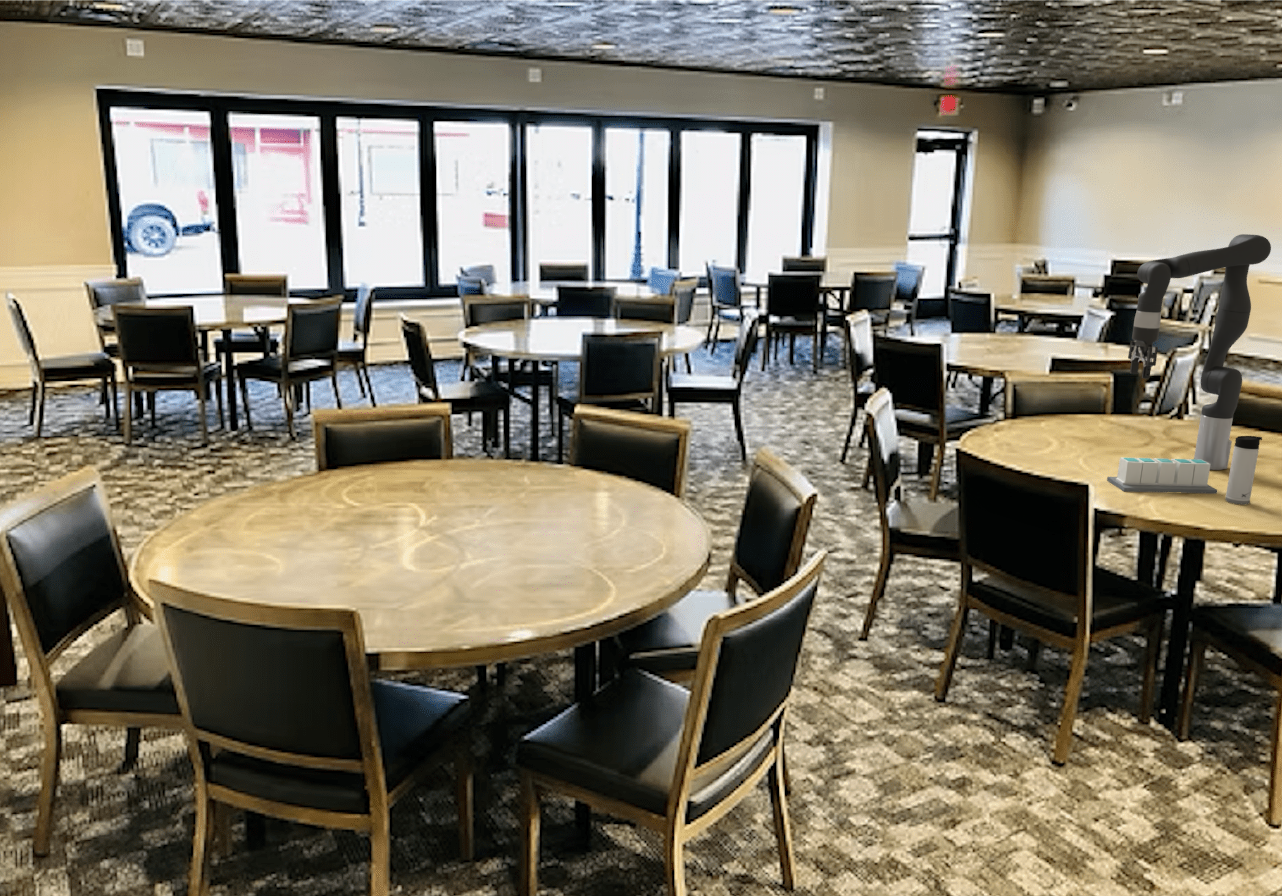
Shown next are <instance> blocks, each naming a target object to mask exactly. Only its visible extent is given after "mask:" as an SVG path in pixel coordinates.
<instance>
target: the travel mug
mask: <svg viewBox="0 0 1282 896" xmlns="http://www.w3.org/2000/svg"><path fill="white" fill-rule="evenodd" d="M1262 440H1263V437H1262V436H1257V435H1255V436H1254V435H1238V436H1237V437H1236V438H1235V441H1234V447H1233V450H1232V457H1231V463H1230V469H1229V474H1228V479H1227V480H1228V481H1227V486H1226V487H1227V488H1226V493H1225V499H1224V500H1225V501H1226V502H1228V503H1230V504H1233V503H1234V505H1239V504H1240V505H1241V506H1242V505H1244V506H1245V504H1246V505H1249V504H1250V501H1251V495H1252V491H1253V484H1254V477H1255V474H1256V473H1255V472H1256V466H1257V462H1258V455H1259V450H1260V443H1261V441H1262Z"/></svg>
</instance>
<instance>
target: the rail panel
mask: <svg viewBox="0 0 1282 896" xmlns="http://www.w3.org/2000/svg"><path fill="white" fill-rule="evenodd" d="M1170 460H1171V461H1173V462H1175V463H1176V469H1175V476H1174V482H1173V484H1158V483H1157V482H1156V476H1157V469H1158V462H1156V461H1154V460H1153V458H1150V457H1119V461H1118V469H1117V475H1116V476H1107V478H1106V481H1107V482H1108V483H1110V484H1112V485H1113V486H1115V487H1116V488H1118V489H1119V490H1121V491H1122V492H1134V493H1167V492H1181V493H1180V494H1213V495H1214V494H1215V495H1217V494H1218V489H1216V488H1214V487H1213V486H1211V485H1209V484H1208V482H1209V476H1210V470H1211V469H1210V465H1211V464H1209V463H1207V462H1205V461H1203V460H1201V459H1194V458H1192V459H1191V458H1189V459H1188V458H1171V459H1170Z"/></svg>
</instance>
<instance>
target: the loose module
mask: <svg viewBox="0 0 1282 896" xmlns="http://www.w3.org/2000/svg"><path fill="white" fill-rule="evenodd" d="M1152 460H1154V461H1156V462H1158V469H1157V476H1156V482H1157V483H1158V484H1173V482H1174V476H1175V469H1176V463H1175V462H1173V461H1171V459H1170V458H1162V457H1161V458H1158V457H1156V458H1155V457H1153V458H1152Z"/></svg>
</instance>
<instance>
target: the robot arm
mask: <svg viewBox="0 0 1282 896" xmlns="http://www.w3.org/2000/svg"><path fill="white" fill-rule="evenodd" d="M1271 251H1272V245H1271V242H1270V240H1269V239H1268V238H1267V237H1264V236H1262V235H1259V234H1246V233H1245V234H1243V233H1242V234H1237V235H1235V236H1233V238H1232V239H1231V240H1230V242H1229V244H1228V246H1225V247H1220V248H1214V249H1206V250H1205V249H1204V250H1199V251H1193V252H1189V253H1185V254H1184V253H1183V254H1180V255H1177V256H1173V257H1167V258H1160V259H1154V260H1153V259H1152V260H1149V261H1146V262H1144V263H1143V264H1141V265H1140V266H1139V267H1138V270H1137V271H1136V272H1137V274H1136V275H1137V277H1138V279H1139V281H1140V282H1142V283H1144V284H1145V285H1146V284H1147V286H1146V289H1145V291H1144V292H1141V293H1140V294H1139V295H1138V299H1137V306H1136V313H1135V314H1134V315H1135V316H1134V321H1133V329H1132V336H1131V339H1132V340H1131V341H1130V343H1129V344H1130V345H1129V350H1128V356H1127V358H1128V360H1129V361H1130V362H1131V363H1130V371H1129V373H1130V374H1132V375H1137V374H1138V371H1139V365H1140V361H1141V362H1142V363H1143V364H1142V365H1143V366H1142V367H1143V368H1142V372H1141V378H1142V379H1146V380H1147V379H1150V377H1151V373H1152V367H1155V366H1156V365H1157V359H1158V358H1157V357H1158V351H1159V349H1158V348H1159V347H1158V346H1153V343H1155V342H1158V340H1159V334H1160V328H1161V327H1160V326H1161V323H1162V322H1161V319H1162V317H1161V315H1162V309H1163V308H1162V307H1163V299H1164V297H1165V296H1166V292H1167V290H1168V288H1169V285H1170V282H1171V279H1182V278H1187V277H1191V276H1195V275H1200V274H1203V273H1206V272H1210V271H1211V272H1212V271H1214V270H1219V269H1223V268H1224V277H1223V283H1222V288H1221V294H1220V299H1219V303H1218V307H1217V313H1216V317H1215V322H1214V327H1213V331H1212V337H1211V341H1210V342H1211V343H1210V347H1209V350H1208V353H1207V356H1206V359H1205V361H1204V365H1203V368H1202V372H1201V375H1200V376H1201V377H1200V387H1201V390H1202V391H1203V392H1205V393H1207V394H1210V395H1211V394H1212V395H1216V396H1217V399H1216V401H1215V402H1214V403H1209V404H1205V405H1203V406H1202V407H1201V413H1200V417H1199V418H1200V419H1199V426H1198V432H1197V436H1196V438H1197V439H1196V444H1195V449H1194V450H1195V451H1194V456H1193V459H1201V460H1203V461H1205V462H1207V463H1209V464H1211V465H1210V470H1212V471H1213V470H1214V471H1221V470H1227V469H1228V467H1229V459H1230V454H1231V449H1232V442H1233V441H1232V440H1231V439H1230V436H1231V431H1232V424H1233V419H1234V415H1235V414H1234V413H1235V412H1236V410H1237V407H1238V403H1239V400H1240V395H1241V390H1242V387H1243V386H1242V385H1243V376H1242V373H1241V371H1240V370H1239V369H1235V368H1231V367H1226V366H1224V364H1225V360H1226V356H1227V354H1228V352H1229V350H1230V349H1231V347H1232V346H1233V345H1234V344H1235V343H1236V342H1237V341H1238V340H1239V339H1240V338H1241V337H1242V335H1243V334H1244V333H1245V332H1246V330H1247V328H1248V326H1249V321H1250V315H1251V311H1252V301H1251V296H1250V292H1249V288H1248V287H1249V286H1248V274H1249V269H1250V265H1258V264H1261V263H1262V262H1264V261H1265V260H1267V258H1269V256H1270V254H1271Z"/></svg>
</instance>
